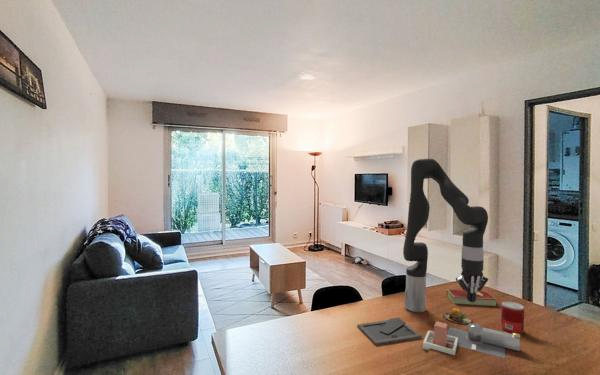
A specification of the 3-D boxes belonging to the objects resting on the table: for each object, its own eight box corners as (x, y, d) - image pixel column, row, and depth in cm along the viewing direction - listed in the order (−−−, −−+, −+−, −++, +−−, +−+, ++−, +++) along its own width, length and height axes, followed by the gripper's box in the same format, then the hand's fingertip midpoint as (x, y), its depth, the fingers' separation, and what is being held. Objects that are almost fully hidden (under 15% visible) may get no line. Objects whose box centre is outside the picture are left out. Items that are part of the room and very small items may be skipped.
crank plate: (444, 344, 122) (444, 342, 122) (449, 329, 135) (449, 326, 135) (505, 361, 111) (505, 358, 111) (504, 342, 124) (504, 339, 124)
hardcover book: (446, 295, 174) (446, 288, 174) (486, 297, 171) (486, 290, 171) (453, 304, 162) (454, 296, 162) (497, 307, 159) (497, 298, 159)
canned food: (527, 335, 130) (527, 309, 129) (505, 333, 131) (506, 307, 131) (518, 326, 137) (518, 302, 137) (498, 325, 139) (498, 300, 138)
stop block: (433, 345, 120) (434, 325, 120) (435, 341, 124) (436, 321, 124) (445, 348, 118) (445, 328, 118) (446, 344, 122) (447, 323, 121)
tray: (422, 348, 119) (423, 342, 119) (428, 336, 129) (428, 330, 128) (454, 357, 113) (454, 350, 113) (458, 344, 123) (458, 337, 123)
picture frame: (398, 321, 143) (357, 327, 137) (398, 317, 143) (357, 323, 137) (421, 339, 127) (375, 347, 121) (421, 334, 127) (375, 342, 121)
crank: (467, 339, 124) (467, 325, 123) (468, 334, 128) (468, 320, 128) (520, 352, 114) (520, 337, 114) (519, 346, 119) (519, 332, 118)
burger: (477, 323, 141) (477, 307, 141) (462, 329, 135) (462, 312, 135) (452, 313, 151) (453, 298, 151) (437, 319, 145) (437, 303, 145)
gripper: (463, 260, 117) (462, 306, 117) (494, 259, 119) (493, 304, 119) (450, 255, 124) (450, 298, 125) (480, 254, 126) (479, 296, 127)
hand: (471, 301), depth 122 cm, fingers closed
